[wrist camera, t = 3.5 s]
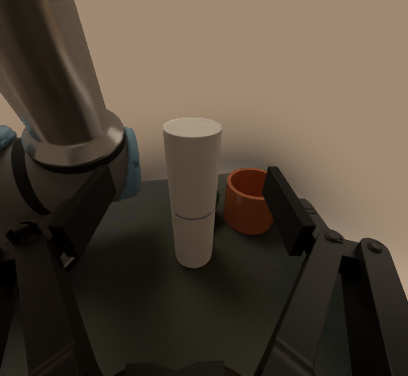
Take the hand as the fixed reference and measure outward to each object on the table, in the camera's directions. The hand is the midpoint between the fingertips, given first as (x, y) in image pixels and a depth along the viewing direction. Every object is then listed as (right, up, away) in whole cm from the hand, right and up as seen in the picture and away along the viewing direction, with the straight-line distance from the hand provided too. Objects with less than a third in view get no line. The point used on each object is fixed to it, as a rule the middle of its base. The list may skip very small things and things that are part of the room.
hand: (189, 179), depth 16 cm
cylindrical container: (-1, -13, +22) cm, 26 cm away
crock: (+12, -8, +30) cm, 33 cm away
